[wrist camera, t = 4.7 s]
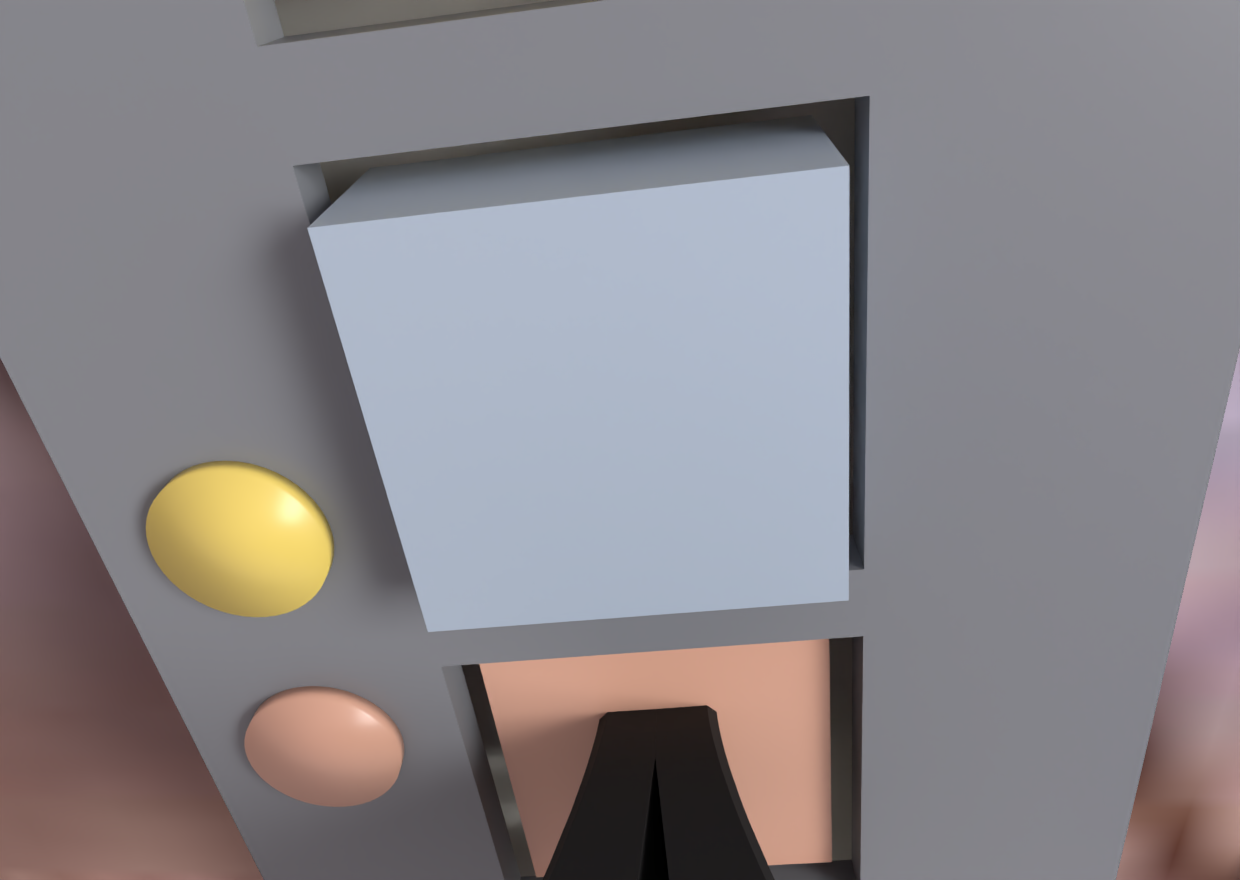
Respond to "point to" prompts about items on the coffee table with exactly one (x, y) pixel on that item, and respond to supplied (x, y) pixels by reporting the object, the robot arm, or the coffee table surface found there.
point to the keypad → (878, 389)
